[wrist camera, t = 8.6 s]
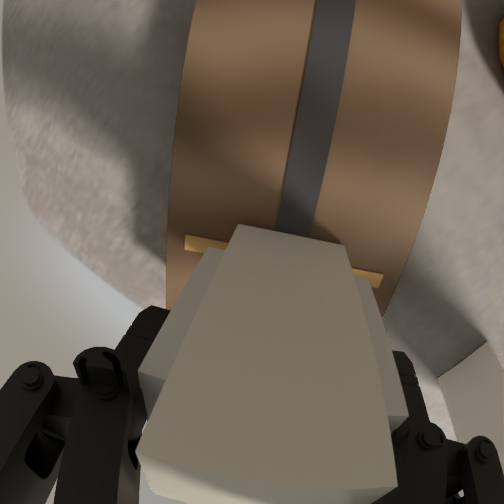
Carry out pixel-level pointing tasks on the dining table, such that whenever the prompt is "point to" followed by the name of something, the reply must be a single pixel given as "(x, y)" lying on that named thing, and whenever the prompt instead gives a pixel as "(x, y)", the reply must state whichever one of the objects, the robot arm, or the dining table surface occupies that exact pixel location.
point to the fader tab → (273, 385)
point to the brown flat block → (311, 127)
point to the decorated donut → (501, 41)
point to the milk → (476, 398)
